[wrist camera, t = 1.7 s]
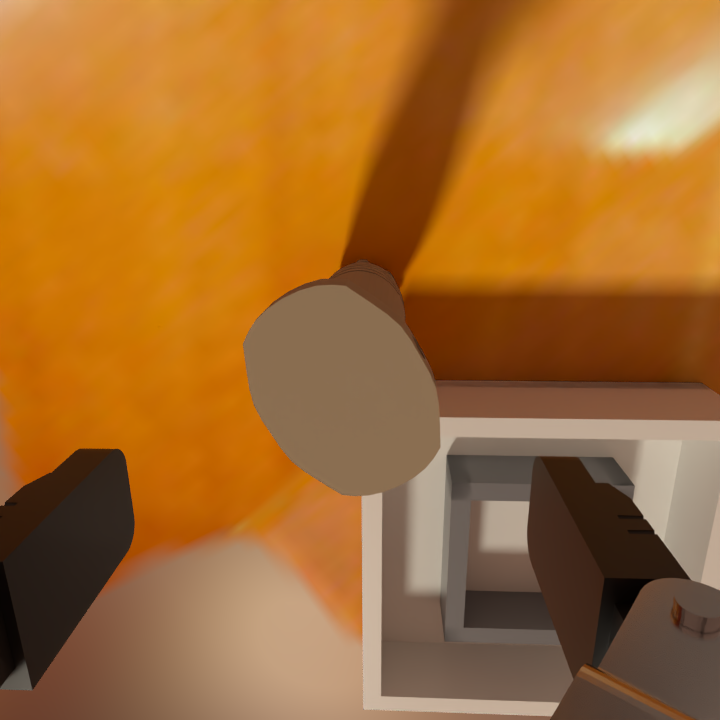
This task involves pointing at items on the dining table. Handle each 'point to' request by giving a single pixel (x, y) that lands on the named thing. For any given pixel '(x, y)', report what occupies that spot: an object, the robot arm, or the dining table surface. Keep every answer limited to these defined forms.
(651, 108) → the dining table surface
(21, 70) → the dining table surface
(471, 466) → the box
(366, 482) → the handle
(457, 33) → the dining table surface
